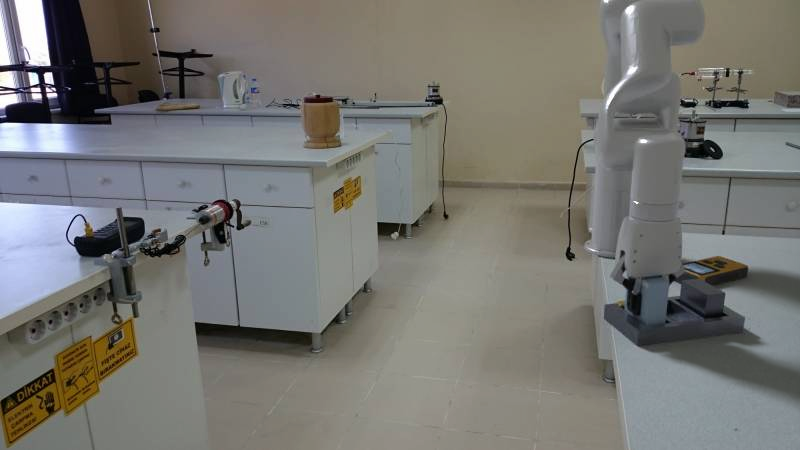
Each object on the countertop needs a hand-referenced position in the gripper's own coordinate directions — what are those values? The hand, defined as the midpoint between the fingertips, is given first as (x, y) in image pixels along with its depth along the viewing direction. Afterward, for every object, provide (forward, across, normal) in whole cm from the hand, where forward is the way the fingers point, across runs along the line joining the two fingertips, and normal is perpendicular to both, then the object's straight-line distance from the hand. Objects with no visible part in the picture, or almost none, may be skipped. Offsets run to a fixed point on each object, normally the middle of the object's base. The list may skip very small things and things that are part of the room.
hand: (644, 310), depth 107 cm
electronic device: (+4, -26, -18) cm, 33 cm away
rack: (+3, -6, 0) cm, 6 cm away
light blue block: (+1, 0, 0) cm, 1 cm away
